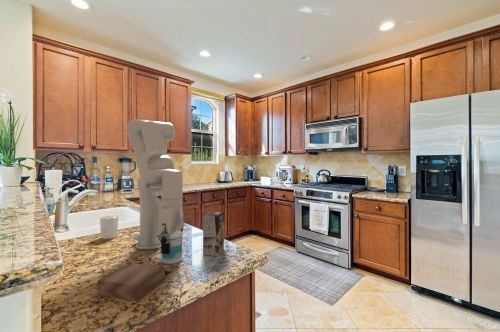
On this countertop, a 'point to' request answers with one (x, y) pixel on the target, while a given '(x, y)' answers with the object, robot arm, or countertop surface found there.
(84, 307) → the countertop surface
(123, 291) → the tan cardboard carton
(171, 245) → the pill bottle
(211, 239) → the coffee box
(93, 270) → the countertop surface
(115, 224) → the white cup
